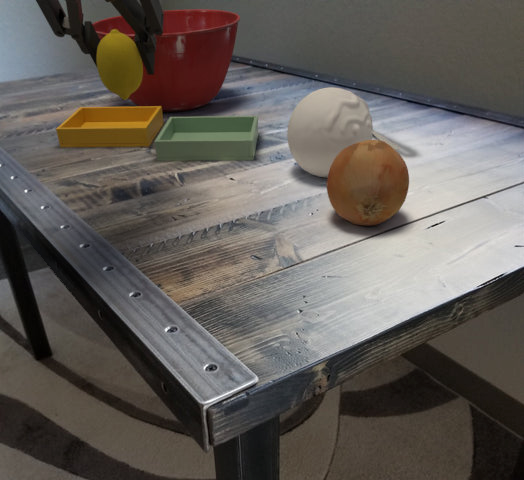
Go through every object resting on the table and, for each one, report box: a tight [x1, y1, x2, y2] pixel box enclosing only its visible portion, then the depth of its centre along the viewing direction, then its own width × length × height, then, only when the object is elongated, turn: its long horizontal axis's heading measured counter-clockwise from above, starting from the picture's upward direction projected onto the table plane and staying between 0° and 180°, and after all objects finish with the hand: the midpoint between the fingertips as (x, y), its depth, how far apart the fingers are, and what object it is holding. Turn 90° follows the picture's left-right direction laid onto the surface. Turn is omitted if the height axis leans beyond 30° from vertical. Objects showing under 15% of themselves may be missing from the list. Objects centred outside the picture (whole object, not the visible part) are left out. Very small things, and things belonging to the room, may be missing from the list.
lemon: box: [96, 29, 143, 101], centre depth 72 cm, size 6×6×8 cm
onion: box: [326, 139, 410, 227], centre depth 70 cm, size 10×10×10 cm
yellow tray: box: [55, 105, 165, 148], centre depth 102 cm, size 15×13×4 cm
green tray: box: [154, 115, 259, 162], centre depth 95 cm, size 15×13×4 cm
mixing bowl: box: [92, 8, 241, 113], centre depth 115 cm, size 28×28×15 cm
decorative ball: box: [286, 86, 374, 179], centre depth 82 cm, size 12×12×12 cm
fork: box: [372, 129, 401, 150], centre depth 99 cm, size 3×24×2 cm, turn 22°
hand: (127, 65), depth 75 cm, fingers closed on lemon, 5 cm apart
